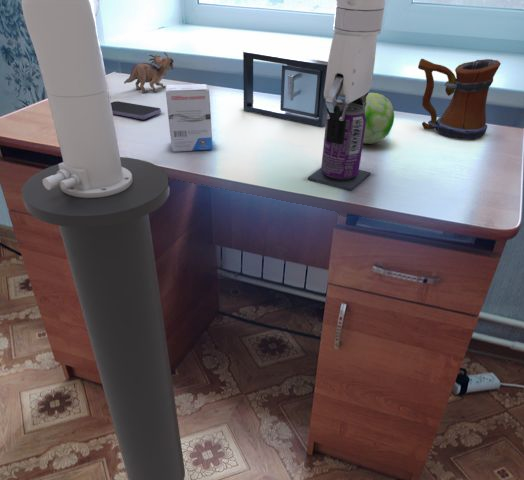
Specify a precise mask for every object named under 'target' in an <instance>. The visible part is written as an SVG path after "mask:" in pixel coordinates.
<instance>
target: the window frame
mask: <svg viewBox="0 0 524 480" xmlns="http://www.w3.org/2000/svg"><path fill="white" fill-rule="evenodd" d="M242 59H243V60H242V63H243V64H242V68H243V69H242V70H243V72H242V74H243V75H242V77H243V81H242V82H243V111H244V112H248V113H253V114H258V115H263V116H267V117H272V118H276V119H282V120H285V121H291V122H295V123H300V124H304V125H309V126H313V127H314V126H315V127H319V128H323V127H325V126H326V117H327V115H328V112H327V105H326V99H325V98H324V89H325V80H326V73H327V66H328V61H325V60H318V59H312V58H306V57H299V56H295V55H289V54H281V53H274V52H268V51H261V50H255V49H247V50H245V51H243V52H242ZM254 60H256V61H262V62H268V63H274V64H280V65H288V66H294V67H300V68H306V69H312V70H318V71H322V79H321V90H320V102H319V113H318V118H314V117H309V116H304V115H299V114H295V113H290V112H285V111H280V108H277V107H273V106H267V105H263V104H257V103H254Z"/></svg>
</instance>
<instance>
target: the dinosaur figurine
mask: <svg viewBox="0 0 524 480" xmlns="http://www.w3.org/2000/svg"><path fill="white" fill-rule="evenodd" d="M163 54H164V55H165V57H166V58H163V57H162V56H161V55H158V54H148V56H149V57H151V58H149V59H148V62H140V63H137V64H135V65H134V66H133V68H132V69H131V72H130V75H129V77H128V78H126V80H125V81H124V82H123V84H125V85H126V84H127V83H128V84H129V83H132V82H134V81H136V82H135V88H136V89H138V90H141V92H142V93H143V94H145V93H146V94H147V93H148V92H149V91H148V90H147V89H146V88H145V84H146V83H148V85H149V86H150V88H151V89H152V92H153V93H158V90H157V89H156V87H155V86H158V87H162V88H163V89H166V85H164V83H162V82H161V81H162V80H163V79H164V78H165V77H166V76H167V74H168V71H169V70H174V68H175V67H174V64H173V63H175V61H174V59H173V58H172V57H171V56H170V55H169V54H168V53H167V52H163ZM149 61H151V62H149ZM155 65H156V66H155ZM139 84H140V85H139Z"/></svg>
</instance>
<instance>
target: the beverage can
mask: <svg viewBox="0 0 524 480" xmlns="http://www.w3.org/2000/svg"><path fill="white" fill-rule="evenodd" d="M337 106H339V108H340V111H341V109H342V106H343V105H340V104H337ZM364 112H365V107H363V106H362V105H359V104H355V103H349V105H348V108H347V111H346V115H345V118H344V120H346V127H345V136H344V143H343V144H341V145H340V144H335V143H331V142H327V141H326V135H327V125H328V118H327V117H326V125H324V136H323V146H322V147H323V148H322V157H321V167H320V168H321V171H322V172H323V173H324V174H326V175H327V176H328V177H330V178H333V179H339V180H344V179H349V178H351V177H354V176H356V175H357V174H358V172H359V170H360V165H361V159H362V158H361V157H362V152H363V145H364V143H363V139H364V132H365V126H366V117H365V113H364Z"/></svg>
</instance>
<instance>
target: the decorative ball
mask: <svg viewBox="0 0 524 480" xmlns="http://www.w3.org/2000/svg"><path fill="white" fill-rule="evenodd" d="M364 113H365V117H366V126H365V132H364V139H363V145H372V144H373V145H374V144H377V143H379V142H381V141H382V140H383V139H384V138H386V137H387V136H388V135H389V134H390V132H391V131H392V128H393V126H394V122H395V111H394V107H393V104H392V102H391V101H390V99H389V98H387V97H386V96H385V95H384V94H381V93H379V92H378V93H377V92H368V95H367V97H366V106H365V112H364Z"/></svg>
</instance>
